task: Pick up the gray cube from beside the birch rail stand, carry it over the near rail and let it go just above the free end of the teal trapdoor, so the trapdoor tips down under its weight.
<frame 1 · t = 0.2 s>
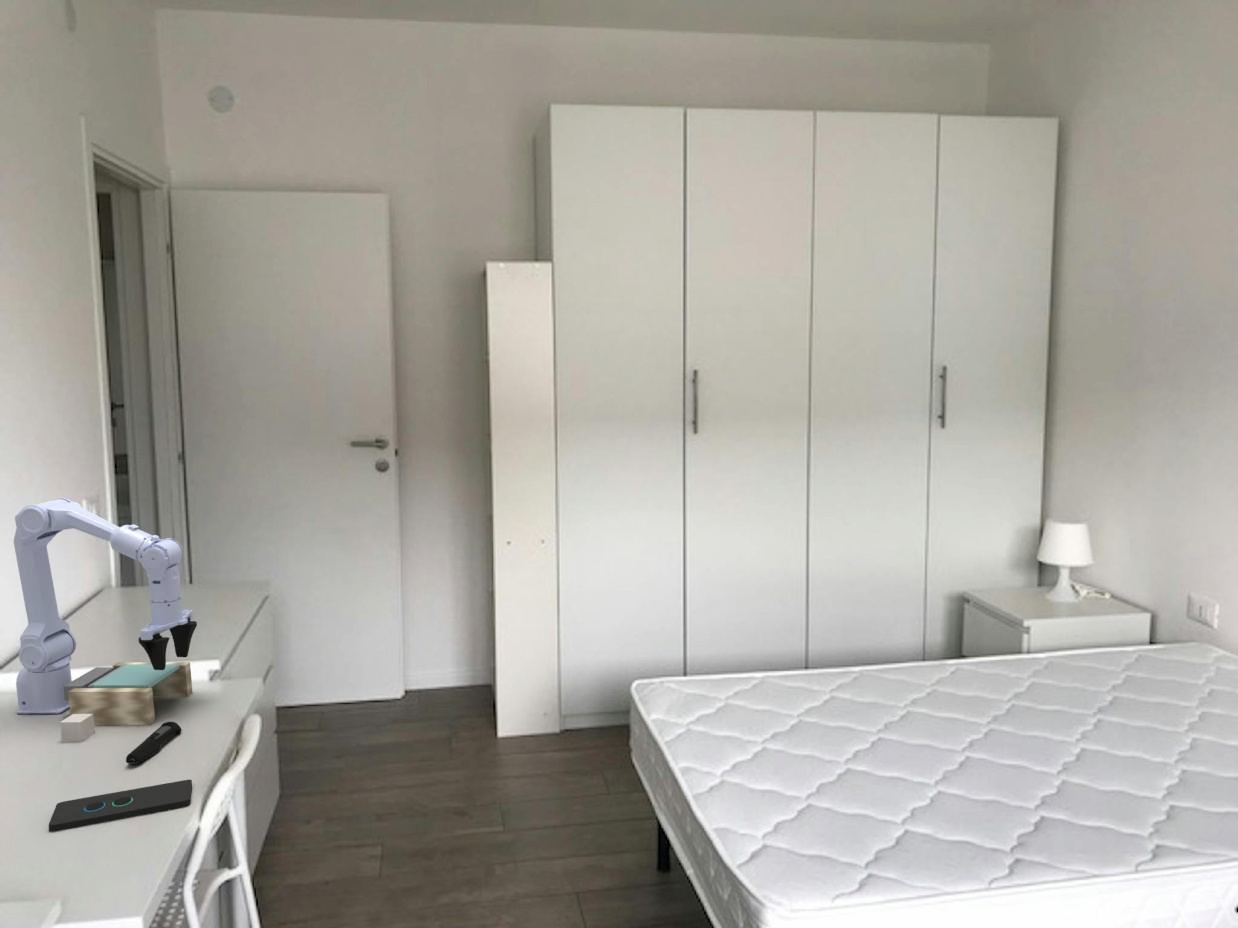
hand: (171, 662, 189), 10 cm above the table, tool pointing down, fingers open, 7 cm apart
electric trimmer: (155, 750, 171), on the table
smart home device: (124, 811, 149), on the table
rail stand: (139, 708, 190), on the table
gray cube: (78, 737, 177), on the table
trapdoor: (122, 682, 190), point 6 cm above the table, hinge at 0.0°
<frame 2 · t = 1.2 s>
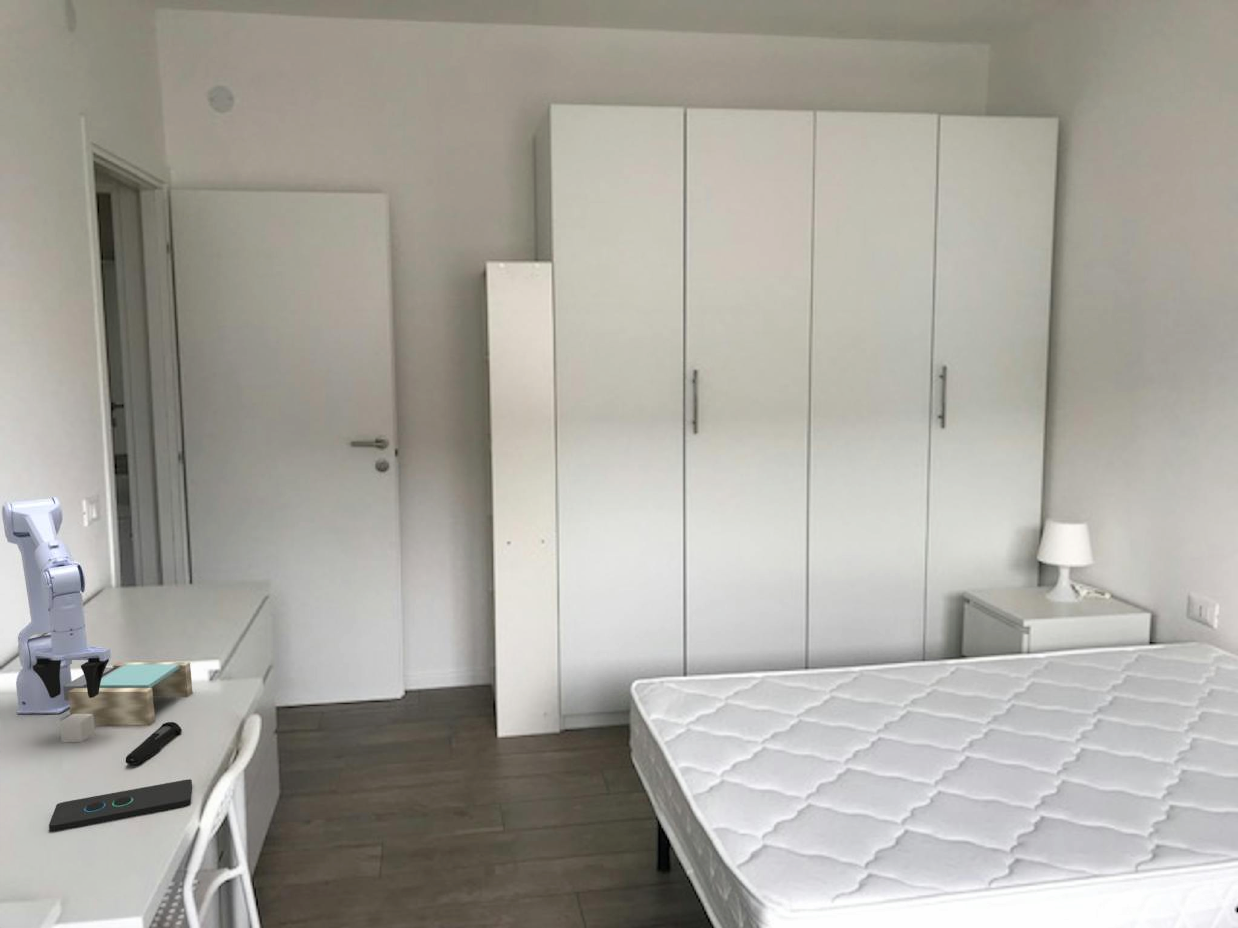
hand: (74, 695, 176), 8 cm above the table, tool pointing down, fingers open, 7 cm apart
nothing on the table moved.
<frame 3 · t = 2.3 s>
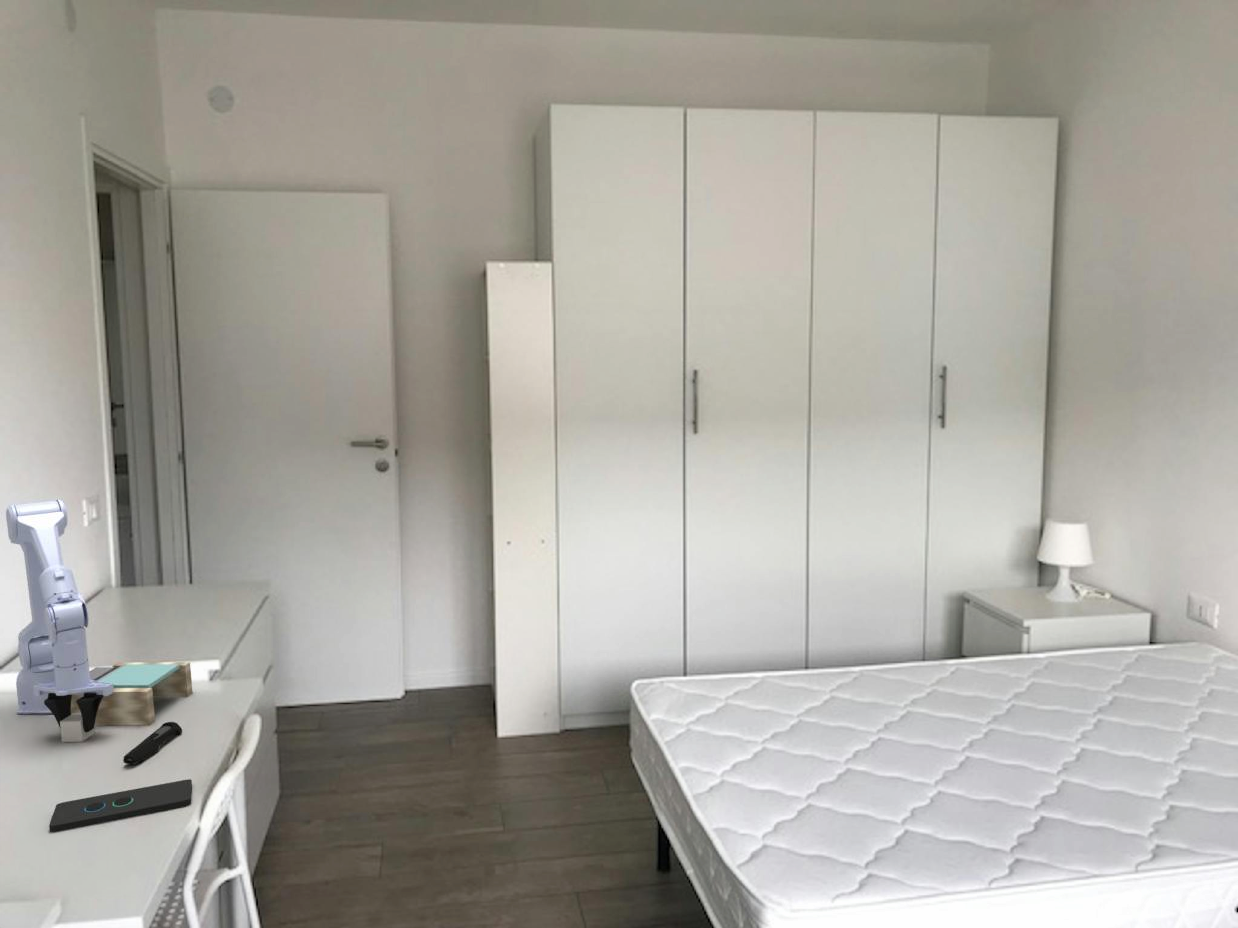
hand: (77, 730, 177), 1 cm above the table, tool pointing down, fingers closed on gray cube, 4 cm apart
gray cube: (78, 736, 177), on the table, touching gripper
everything else where it was.
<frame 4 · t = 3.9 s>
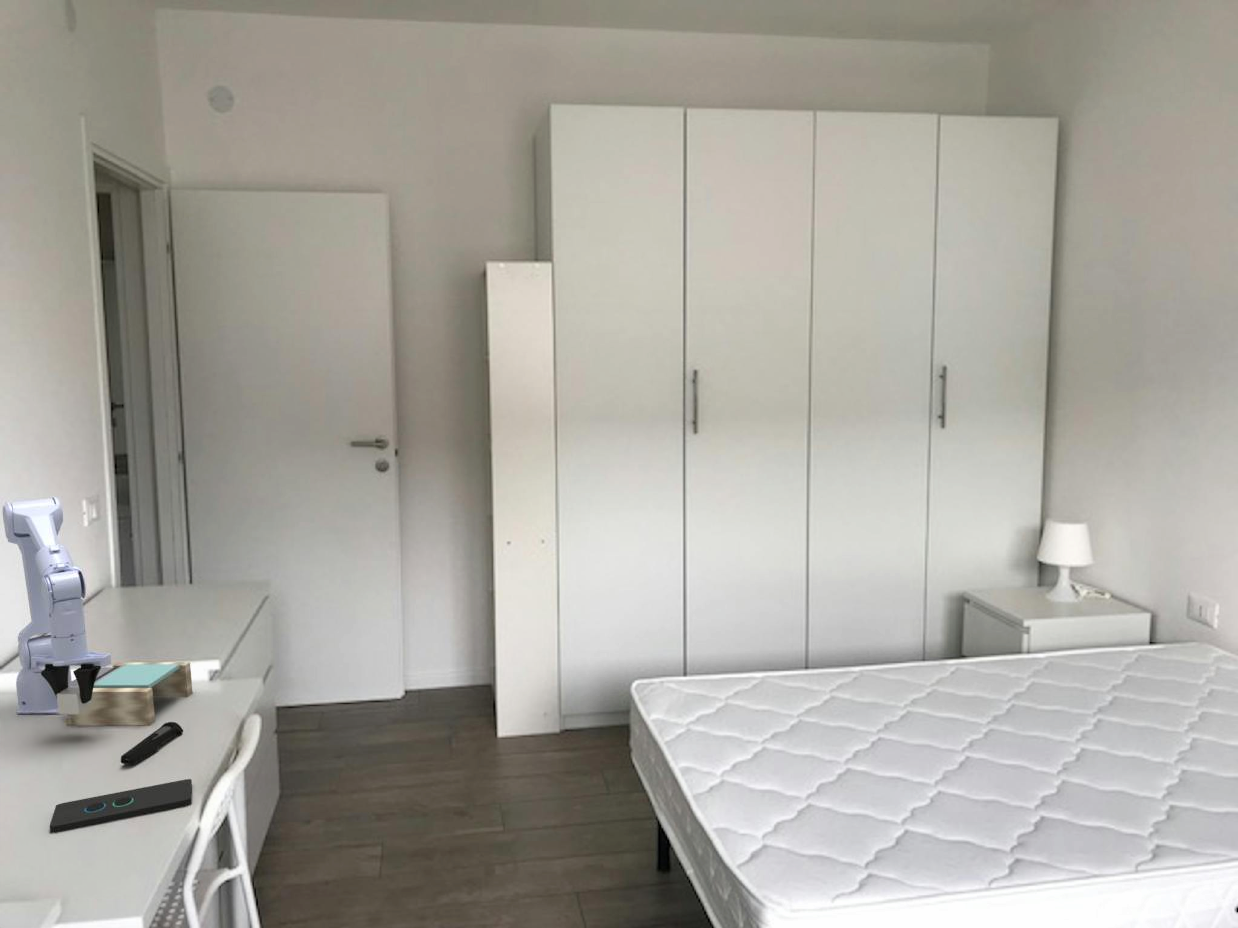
hand: (75, 701, 176), 7 cm above the table, tool pointing down, fingers closed on gray cube, 4 cm apart
gray cube: (75, 709, 176), point 6 cm above the table, touching gripper
everything else where it was.
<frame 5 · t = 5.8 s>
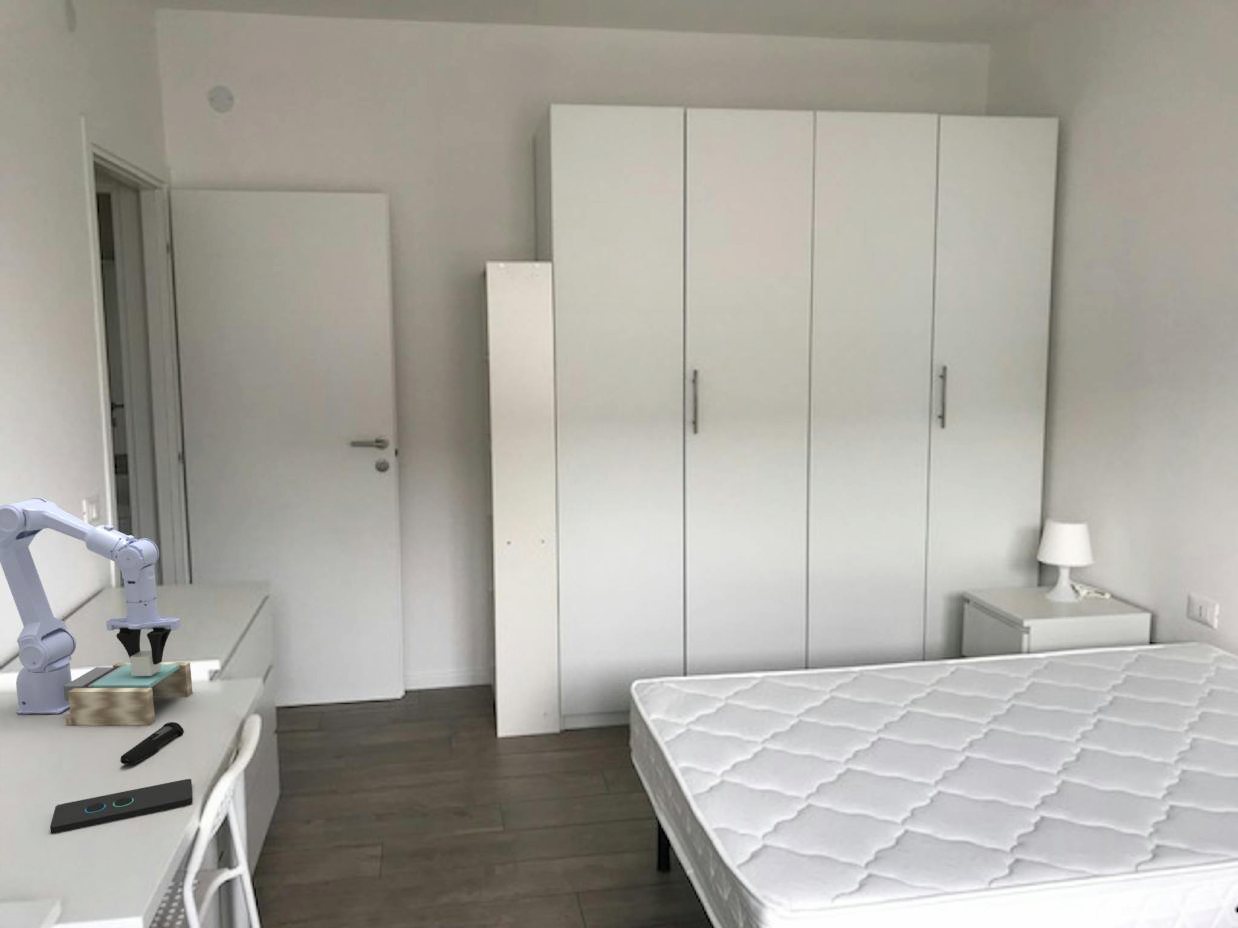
hand: (146, 662, 189), 10 cm above the table, tool pointing down, fingers closed on gray cube, 4 cm apart
gray cube: (146, 672, 189), point 8 cm above the table, touching gripper
everything else where it was.
when the fingers open (10 cm above the table, at t = 6.4 s): gray cube drops 3 cm, resting on trapdoor.
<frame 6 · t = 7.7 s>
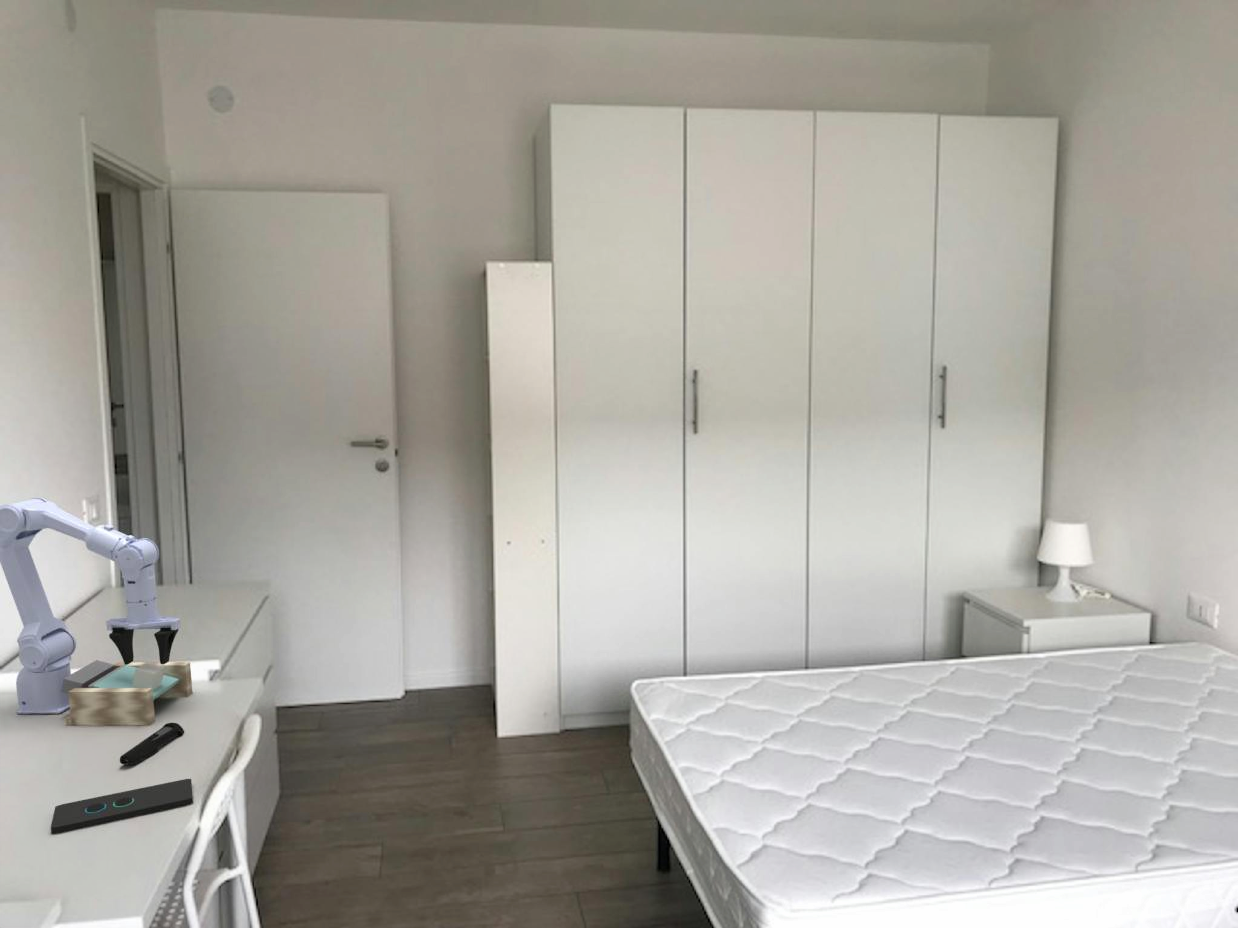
hand: (146, 662, 189), 10 cm above the table, tool pointing down, fingers open, 7 cm apart
gray cube: (146, 685, 189), point 5 cm above the table, tilted 16°, touching trapdoor
trapdoor: (121, 685, 190), point 5 cm above the table, hinge at -15.6°, touching gray cube
everything else where it was.
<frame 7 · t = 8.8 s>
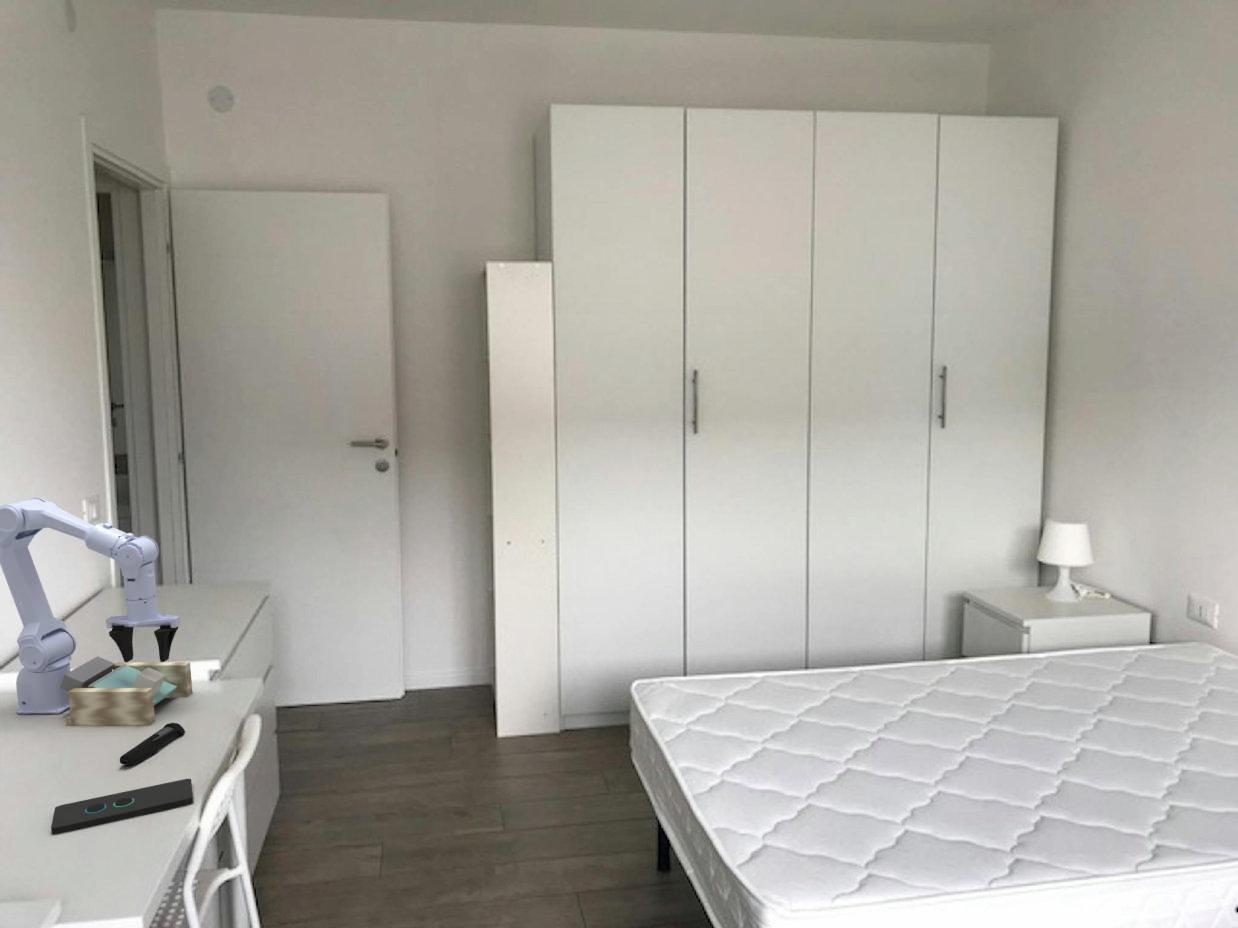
hand: (146, 660, 189), 10 cm above the table, tool pointing down, fingers open, 7 cm apart
gray cube: (145, 691, 189), point 4 cm above the table, tilted 24°, touching trapdoor
trapdoor: (119, 687, 190), point 5 cm above the table, hinge at -24.1°, touching gray cube
everything else where it was.
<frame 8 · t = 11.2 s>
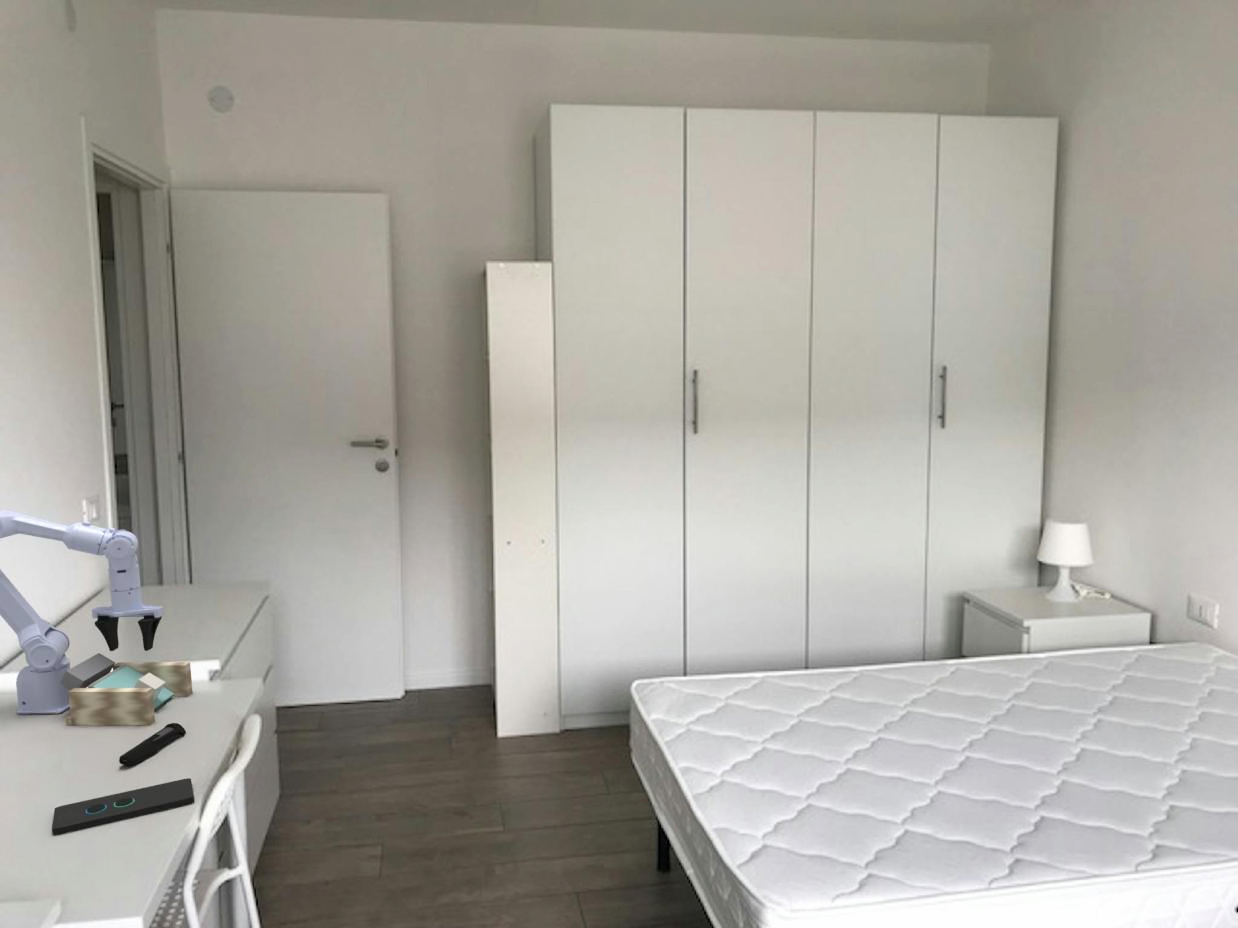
hand: (131, 649, 196), 10 cm above the table, tool pointing down, fingers open, 7 cm apart
gray cube: (143, 696, 190), point 3 cm above the table, tilted 32°, touching trapdoor
trapdoor: (118, 688, 190), point 4 cm above the table, hinge at -32.1°, touching gray cube
everything else where it was.
at the end: trapdoor at -32° (first picture: +0°); gray cube point 2.8 cm above the table; the gripper is holding nothing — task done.
